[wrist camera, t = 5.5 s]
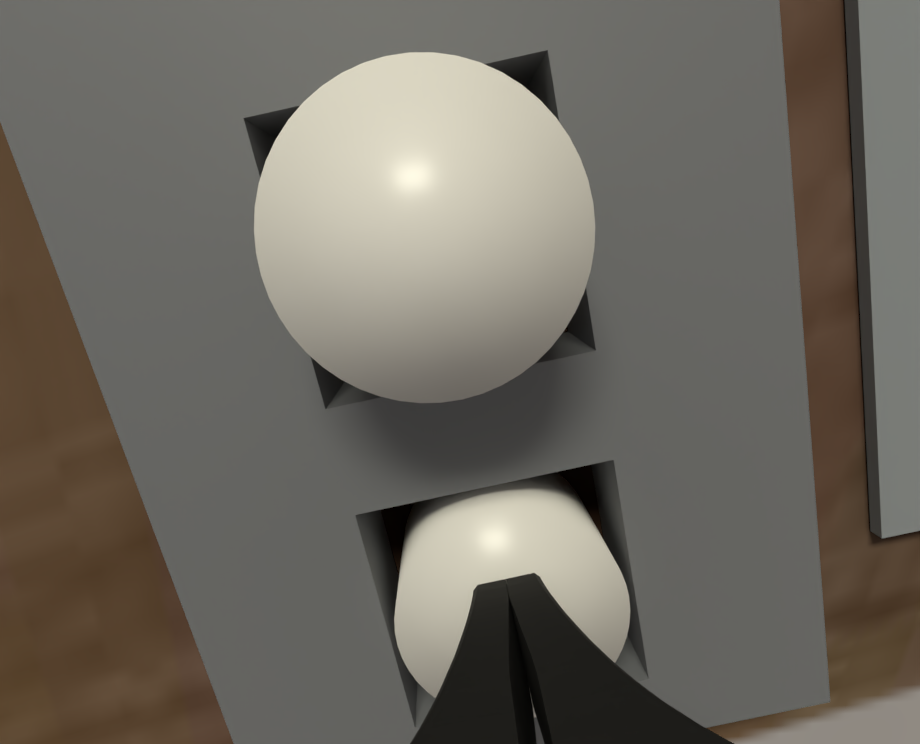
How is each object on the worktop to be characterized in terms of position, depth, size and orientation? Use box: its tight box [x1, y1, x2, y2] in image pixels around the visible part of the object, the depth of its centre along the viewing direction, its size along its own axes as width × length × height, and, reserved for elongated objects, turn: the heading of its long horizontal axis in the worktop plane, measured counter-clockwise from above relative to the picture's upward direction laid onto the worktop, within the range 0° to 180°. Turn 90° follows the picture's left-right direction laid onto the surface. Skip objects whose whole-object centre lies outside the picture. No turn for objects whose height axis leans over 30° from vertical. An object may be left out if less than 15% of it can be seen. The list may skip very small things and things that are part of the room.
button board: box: [0, 0, 830, 744], centre depth 12 cm, size 14×25×2 cm, turn 12°
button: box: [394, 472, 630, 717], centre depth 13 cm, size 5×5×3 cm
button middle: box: [254, 52, 595, 403], centre depth 10 cm, size 5×5×3 cm
